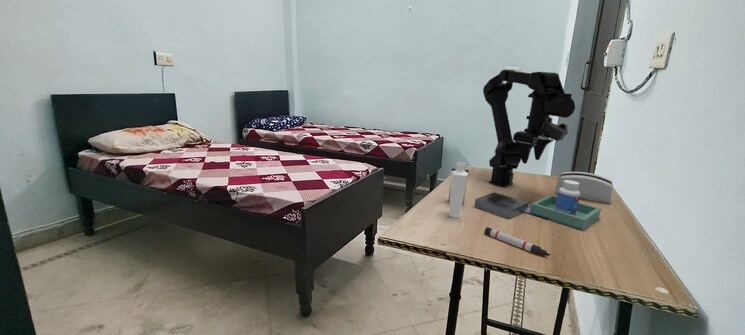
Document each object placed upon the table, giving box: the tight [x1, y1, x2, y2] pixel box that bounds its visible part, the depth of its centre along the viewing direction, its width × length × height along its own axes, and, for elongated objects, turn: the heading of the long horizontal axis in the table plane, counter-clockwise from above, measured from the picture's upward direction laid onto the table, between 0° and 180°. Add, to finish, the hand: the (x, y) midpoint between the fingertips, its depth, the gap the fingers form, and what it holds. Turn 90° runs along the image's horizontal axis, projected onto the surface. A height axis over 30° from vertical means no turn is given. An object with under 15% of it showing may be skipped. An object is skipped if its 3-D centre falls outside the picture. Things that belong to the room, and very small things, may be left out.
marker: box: [484, 226, 551, 257], centre depth 81 cm, size 15×2×2 cm, turn 44°
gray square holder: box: [474, 191, 529, 220], centre depth 103 cm, size 11×11×2 cm
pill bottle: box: [555, 180, 580, 216], centre depth 99 cm, size 6×5×10 cm
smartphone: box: [500, 204, 550, 221], centre depth 104 cm, size 8×1×15 cm
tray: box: [530, 194, 602, 231], centre depth 100 cm, size 14×14×3 cm
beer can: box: [448, 162, 469, 204], centre depth 105 cm, size 5×5×12 cm
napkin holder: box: [554, 171, 614, 204], centre depth 117 cm, size 17×5×10 cm, turn 60°
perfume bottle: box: [447, 161, 469, 219], centre depth 94 cm, size 5×4×15 cm
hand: (531, 161), depth 112 cm, fingers open, 9 cm apart
